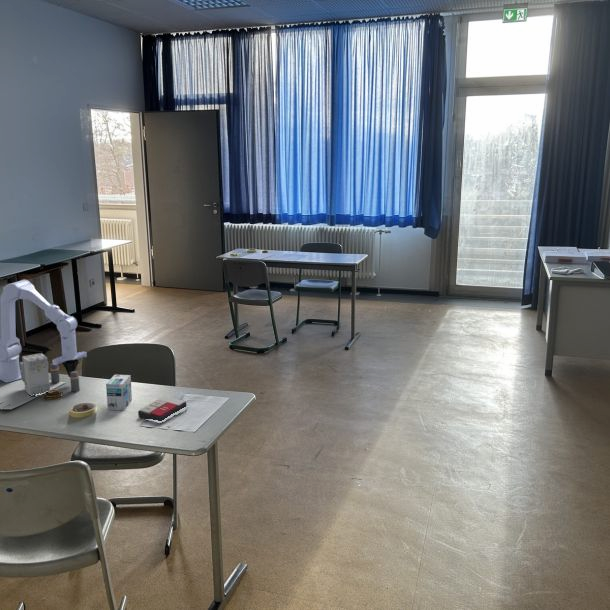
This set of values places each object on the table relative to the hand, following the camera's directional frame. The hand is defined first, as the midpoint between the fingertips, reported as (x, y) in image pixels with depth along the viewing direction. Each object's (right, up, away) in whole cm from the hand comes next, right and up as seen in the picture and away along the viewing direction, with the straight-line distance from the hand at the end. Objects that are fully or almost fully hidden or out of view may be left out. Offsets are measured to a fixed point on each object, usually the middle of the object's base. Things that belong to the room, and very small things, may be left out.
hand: (71, 376), depth 254 cm
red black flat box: (+45, -11, -26) cm, 53 cm away
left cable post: (-8, -3, +3) cm, 9 cm away
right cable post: (+4, -5, -6) cm, 9 cm away
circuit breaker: (-12, -5, -6) cm, 15 cm away
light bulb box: (+26, -9, -19) cm, 34 cm away
